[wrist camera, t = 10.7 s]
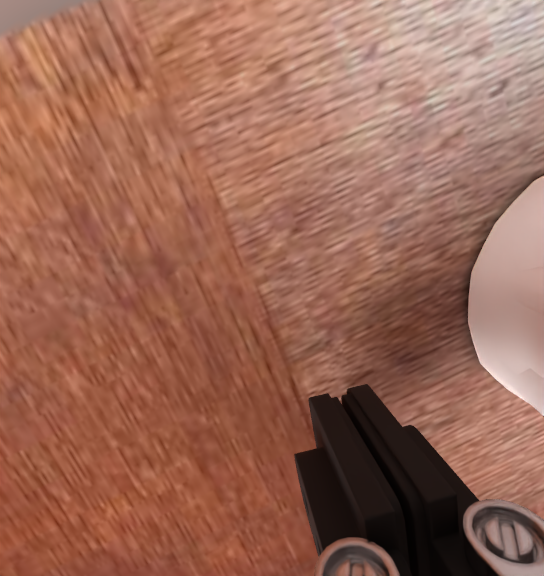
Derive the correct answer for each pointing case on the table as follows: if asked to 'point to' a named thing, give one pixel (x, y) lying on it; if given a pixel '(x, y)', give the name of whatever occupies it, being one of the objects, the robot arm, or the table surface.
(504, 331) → the cup
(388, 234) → the table surface
